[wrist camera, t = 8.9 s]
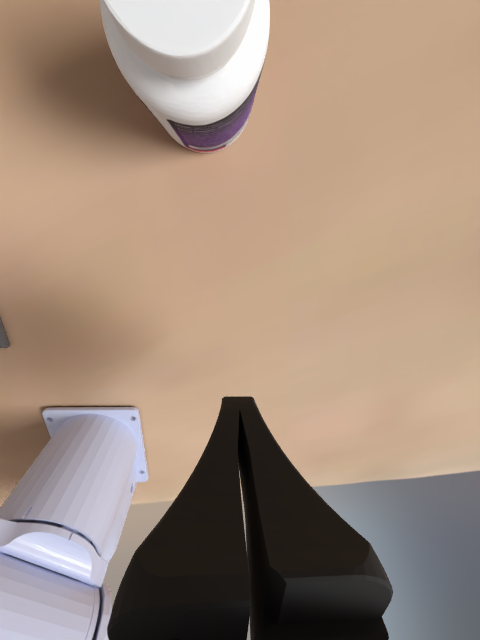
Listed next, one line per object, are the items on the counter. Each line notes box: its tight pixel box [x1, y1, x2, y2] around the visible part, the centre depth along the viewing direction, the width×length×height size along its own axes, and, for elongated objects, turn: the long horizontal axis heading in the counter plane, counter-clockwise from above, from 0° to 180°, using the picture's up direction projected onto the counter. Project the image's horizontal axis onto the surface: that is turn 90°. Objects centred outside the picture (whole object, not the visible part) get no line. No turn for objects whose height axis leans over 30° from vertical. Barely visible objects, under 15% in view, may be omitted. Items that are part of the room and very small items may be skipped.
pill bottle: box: [100, 0, 270, 153], centre depth 10 cm, size 5×5×10 cm
